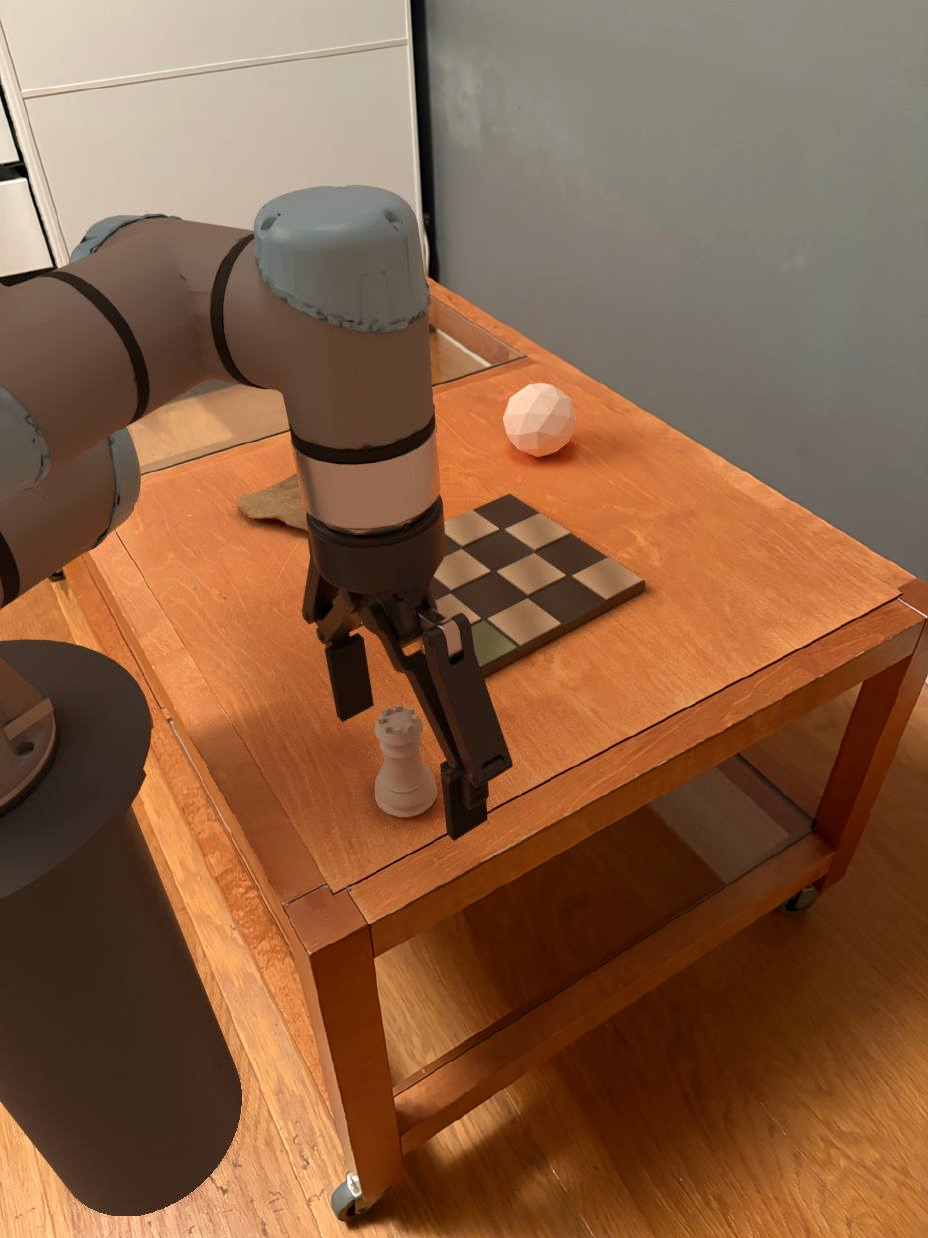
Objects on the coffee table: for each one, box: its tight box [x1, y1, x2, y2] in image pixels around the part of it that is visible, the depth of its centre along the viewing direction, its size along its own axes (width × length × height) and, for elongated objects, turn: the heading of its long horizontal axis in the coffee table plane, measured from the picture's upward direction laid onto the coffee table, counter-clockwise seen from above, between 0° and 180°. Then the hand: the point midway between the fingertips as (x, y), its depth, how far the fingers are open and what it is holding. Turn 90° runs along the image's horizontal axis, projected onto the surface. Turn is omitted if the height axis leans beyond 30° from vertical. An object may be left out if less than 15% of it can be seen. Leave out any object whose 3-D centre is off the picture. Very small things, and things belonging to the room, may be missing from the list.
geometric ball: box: [502, 382, 578, 458], centre depth 102 cm, size 8×8×8 cm
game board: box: [430, 493, 646, 679], centre depth 86 cm, size 19×19×1 cm
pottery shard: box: [236, 472, 309, 533], centre depth 96 cm, size 11×4×10 cm
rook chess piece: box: [373, 703, 438, 818], centre depth 65 cm, size 4×4×8 cm
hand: (407, 765), depth 65 cm, fingers open, 13 cm apart
